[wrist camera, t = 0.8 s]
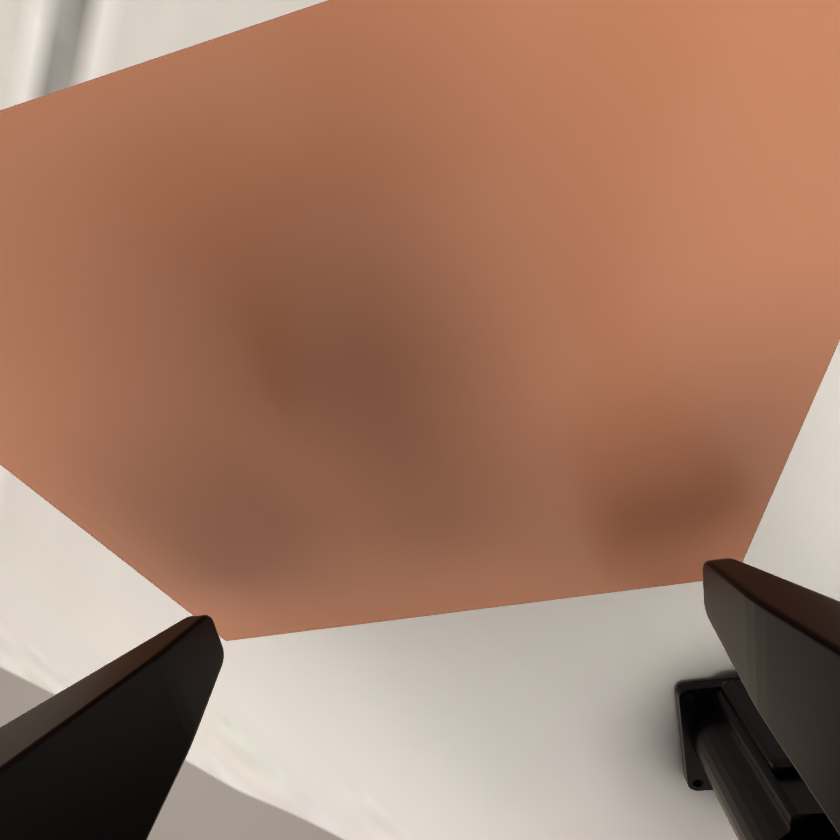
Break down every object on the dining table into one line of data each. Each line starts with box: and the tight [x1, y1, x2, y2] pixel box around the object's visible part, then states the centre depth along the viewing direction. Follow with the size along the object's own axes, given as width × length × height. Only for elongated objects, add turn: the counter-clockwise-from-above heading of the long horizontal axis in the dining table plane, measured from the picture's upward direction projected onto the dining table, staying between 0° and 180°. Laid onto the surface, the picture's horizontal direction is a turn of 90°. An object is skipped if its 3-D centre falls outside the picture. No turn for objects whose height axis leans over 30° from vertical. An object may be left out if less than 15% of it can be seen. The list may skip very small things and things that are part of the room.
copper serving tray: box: [0, 0, 840, 641], centre depth 11 cm, size 16×18×1 cm
